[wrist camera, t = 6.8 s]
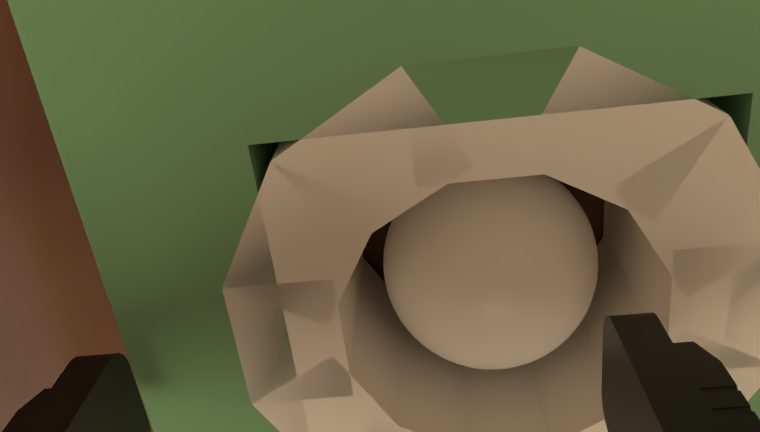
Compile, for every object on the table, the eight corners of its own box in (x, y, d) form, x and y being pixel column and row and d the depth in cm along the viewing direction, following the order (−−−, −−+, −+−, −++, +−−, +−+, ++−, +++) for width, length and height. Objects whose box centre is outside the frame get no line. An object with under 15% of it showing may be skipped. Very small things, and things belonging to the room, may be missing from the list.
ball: (526, 112, 16) (650, 176, 12) (533, 274, 18) (641, 374, 14) (343, 156, 15) (416, 240, 11) (372, 323, 17) (441, 444, 13)
